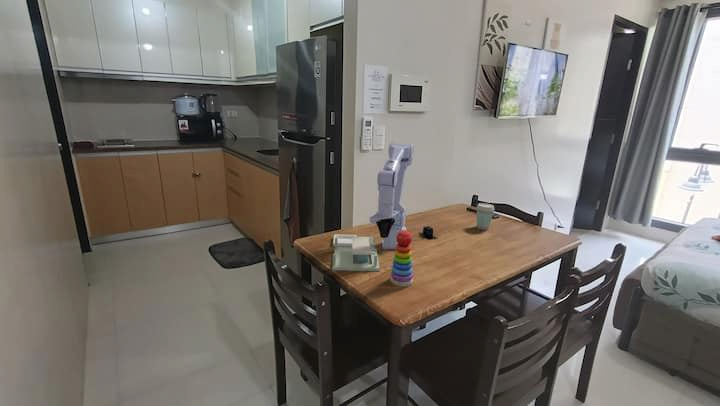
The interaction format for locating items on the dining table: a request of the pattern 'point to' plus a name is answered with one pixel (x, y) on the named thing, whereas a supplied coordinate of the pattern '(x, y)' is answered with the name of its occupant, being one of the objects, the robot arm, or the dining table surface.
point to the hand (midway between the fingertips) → (384, 237)
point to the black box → (428, 233)
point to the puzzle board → (353, 260)
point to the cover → (362, 245)
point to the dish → (343, 240)
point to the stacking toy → (402, 261)
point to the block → (362, 258)
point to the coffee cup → (484, 215)
